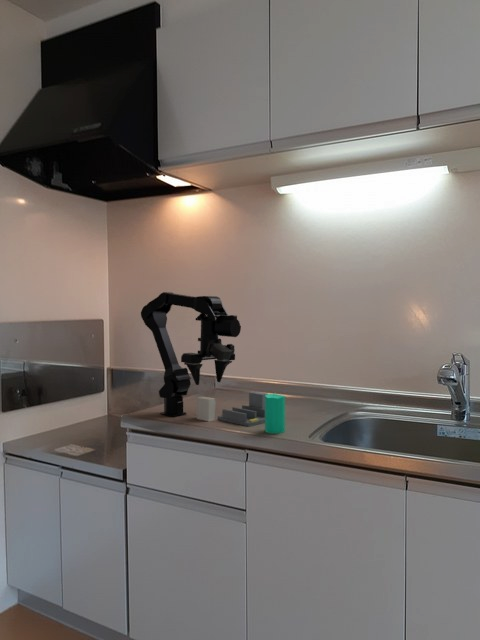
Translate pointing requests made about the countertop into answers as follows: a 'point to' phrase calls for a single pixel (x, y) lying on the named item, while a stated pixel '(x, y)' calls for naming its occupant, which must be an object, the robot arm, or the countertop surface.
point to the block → (205, 408)
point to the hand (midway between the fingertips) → (208, 383)
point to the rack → (247, 411)
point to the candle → (274, 413)
